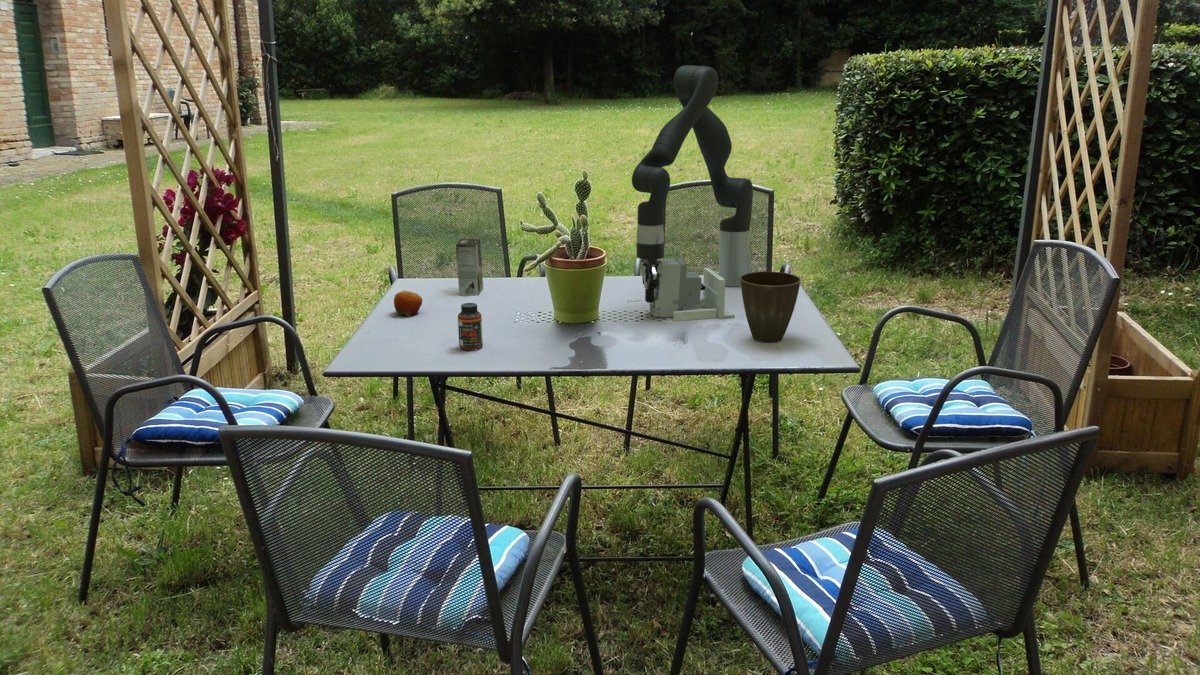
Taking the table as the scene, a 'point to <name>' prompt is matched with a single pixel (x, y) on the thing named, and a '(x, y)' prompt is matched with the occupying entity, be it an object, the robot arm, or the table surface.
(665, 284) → the circuit breaker
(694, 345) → the table surface
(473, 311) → the supplement bottle
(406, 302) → the fruit
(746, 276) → the plant pot
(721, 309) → the rail bracket
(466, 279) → the coffee box
